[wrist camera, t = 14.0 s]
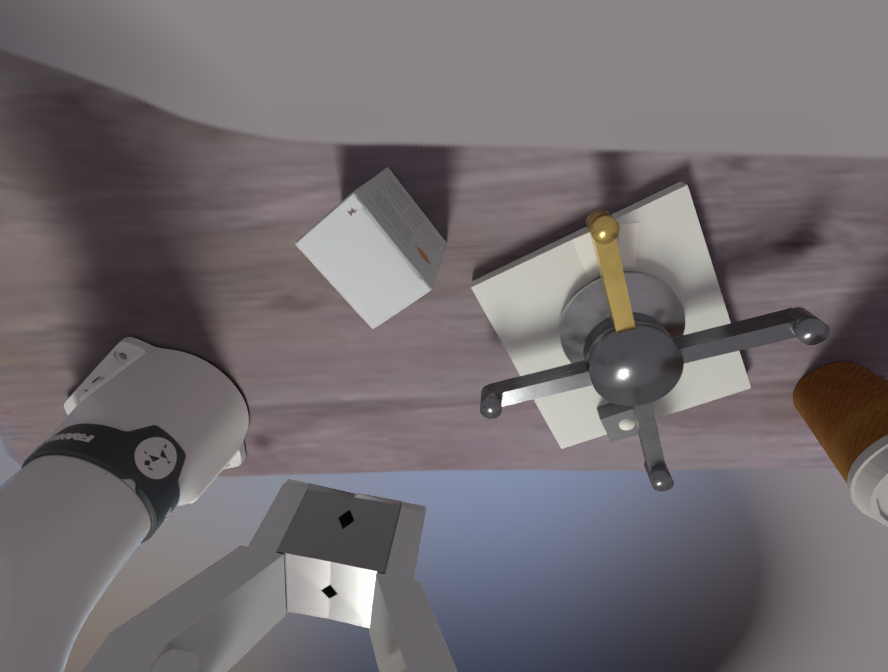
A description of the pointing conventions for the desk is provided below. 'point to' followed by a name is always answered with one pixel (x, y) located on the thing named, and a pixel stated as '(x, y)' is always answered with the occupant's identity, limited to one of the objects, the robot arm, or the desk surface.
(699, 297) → the stand
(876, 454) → the disposable coffee cup
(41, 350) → the desk surface
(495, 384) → the capstan
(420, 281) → the small box
